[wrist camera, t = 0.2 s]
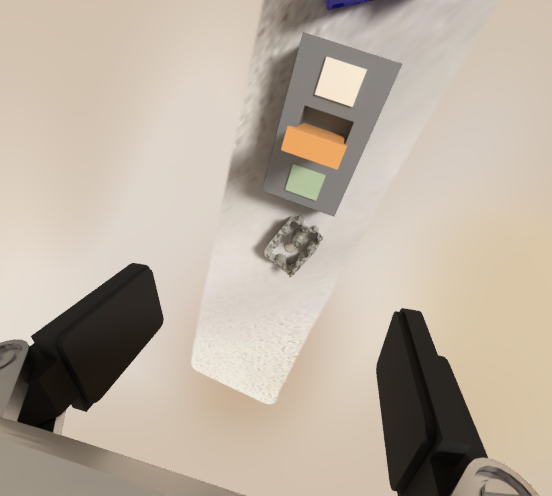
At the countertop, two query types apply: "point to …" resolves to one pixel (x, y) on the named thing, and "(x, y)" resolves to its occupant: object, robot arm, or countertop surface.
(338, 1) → the cable clip
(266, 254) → the egg carton
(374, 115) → the breaker box
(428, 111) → the countertop surface
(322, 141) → the breaker lever
